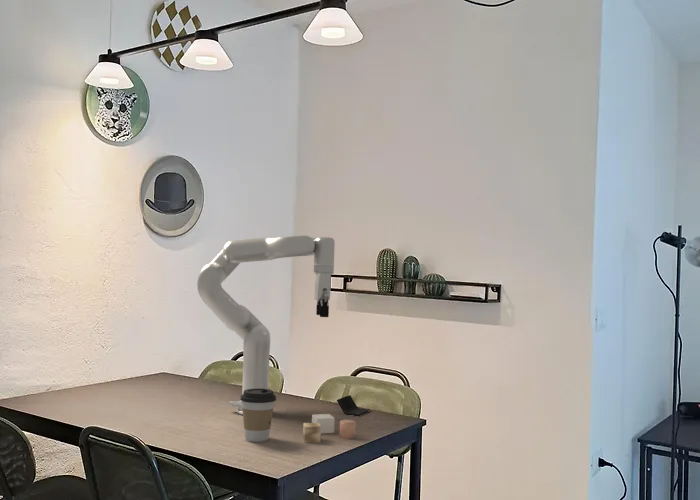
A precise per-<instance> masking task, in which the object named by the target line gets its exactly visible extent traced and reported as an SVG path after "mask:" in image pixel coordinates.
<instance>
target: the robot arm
mask: <svg viewBox="0 0 700 500" xmlns="http://www.w3.org/2000/svg"><path fill="white" fill-rule="evenodd" d="M335 245H336V244H335V239H334V238H333V237H329V236H328V237H327V236H319V237H312V236H309V235H293V236H291V235H290V236H281V237H267V236H266V237H257V238H256V237H255V238H244V239H243V238H242V239H232V240H228V241H226V242H225V244H224V245H223V248H222V250H221V251H220V252H219V253H218V254H217V255H216V256H215V257H214V258H213V259H212V261H211V262H210V263H207V264H205V265H204V266H203V267H201V270H200V272H199V274H198V277H197V283H196V285H197V292H198V294H199V297H200V298H201V300H202V301H203V302H204V305H206V306H207V307H208V308H209V309H210V310H211V311H212V313H214V315H215V316H216V317H217V318H218V319H219V320H220V321H221V322H222V323H223V324H224V325H225V326H226V328H228V329H229V330H230V331H233V332H234V333H236V335H238V336H239V338H240V339H242V340H243V346H242V347H243V348H242V349H243V353H242V354H243V356H242V357H243V358H242V360H243V362H242V385H241V386H242V389H241V392H242V394H241V395H243V392H244V390H247V389H256V388H259V389H269V382H270V381H269V379H270V377H269V376H270V350H271V349H270V348H271V335H270V334H271V333H270V331H269V330H268V327H266V326H265V325H264V323H262V321H260V320H259V319H258V318H257V317H256V315H254V314H253V313H252V312H251V311H250V309H249V308H247V307H246V306H245V305H242V304H239V303H238V302H237V301H236V300H235V299H234V298H233V297H232V296H231V295H230V294H229V293H228V292H227V291H226V290H225V289H224V287H223V286H222V284H223V282H224V281H226V279H228V277H229V276H230V275H231V274H232V273H233V271H235V270H236V269H237V267H238V266H240V264H241V263H248V262H249V263H250V262H252V263H253V262H263V261H264V262H265V261H272V260H276V259H283V258H293V257H296V258H297V257H309V256H313V274H314V275H315V279H314V295H313V296H314V300H316V308H315V309H316V313H315V314H316V315H317V316H319V317H320V318H329V313H330V311H329V309H330V305H329V304H330V303H329V300H330V299H331V288H332V287H331V282H332V281H331V280H332V279H331V278H332V276H331V275H334V274H335ZM228 403H229V404H228V405H229V406H228V407H230V408H237V410H236V412H237V413H236V414H239V415H242V416H243V410H242V401H241V400H237V401H233V400H232V401H230V400H229V402H228Z"/></svg>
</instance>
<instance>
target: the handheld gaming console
mask: <svg viewBox="0 0 700 500" xmlns="http://www.w3.org/2000/svg"><path fill="white" fill-rule="evenodd" d="M336 402H337V404H338V405H339V408H340V410H341V411H342V412H343V415H344V414H346V415H345V416H349V415H354V416H353V417H356V416H359V417H361V416H363V415H362V414H364V413H366V412H368V411H369V410H370V408H369V409H367V408H363V407H362V408H361V407H359V406H357V404H356V402H355V400H354V399H353V397H352V396H351V395H349V394H348V395H346V396H344V397H340V398H338V399H337V400H336ZM368 413H369V412H368ZM366 414H367V413H366ZM360 415H361V416H360ZM364 415H365V414H364Z"/></svg>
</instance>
